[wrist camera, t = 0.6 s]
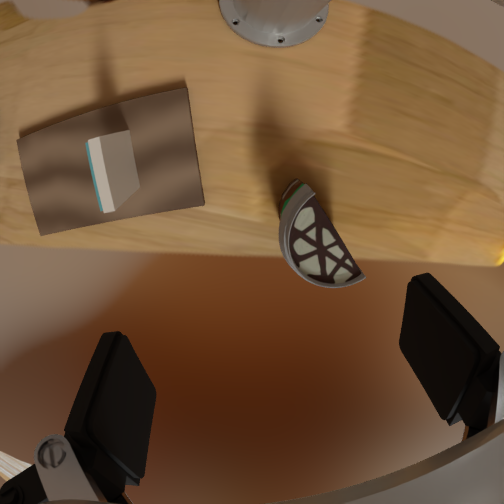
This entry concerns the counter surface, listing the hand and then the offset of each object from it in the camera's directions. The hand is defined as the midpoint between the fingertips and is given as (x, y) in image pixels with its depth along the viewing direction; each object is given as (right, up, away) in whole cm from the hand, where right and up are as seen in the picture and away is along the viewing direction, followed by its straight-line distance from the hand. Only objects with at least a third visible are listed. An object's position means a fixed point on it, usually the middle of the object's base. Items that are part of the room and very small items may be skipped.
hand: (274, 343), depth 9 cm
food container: (+5, +7, +29) cm, 31 cm away
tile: (-15, +13, +23) cm, 31 cm away
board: (-19, +13, +24) cm, 34 cm away
